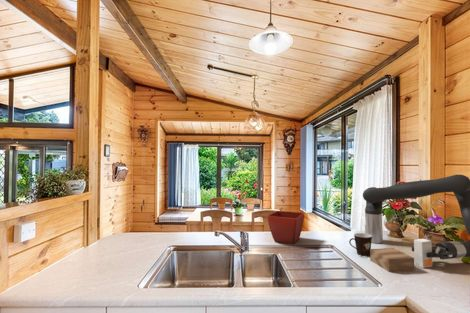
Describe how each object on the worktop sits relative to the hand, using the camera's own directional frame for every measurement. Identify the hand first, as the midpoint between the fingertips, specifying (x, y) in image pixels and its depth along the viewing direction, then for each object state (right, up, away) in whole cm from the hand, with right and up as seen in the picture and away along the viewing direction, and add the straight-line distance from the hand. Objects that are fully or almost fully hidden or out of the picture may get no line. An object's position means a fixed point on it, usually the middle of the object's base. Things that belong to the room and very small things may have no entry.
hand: (419, 252), depth 122 cm
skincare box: (+2, -7, 0) cm, 7 cm away
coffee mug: (-19, -8, +18) cm, 27 cm away
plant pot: (-53, -9, +45) cm, 70 cm away
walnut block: (-12, -7, +2) cm, 14 cm away
